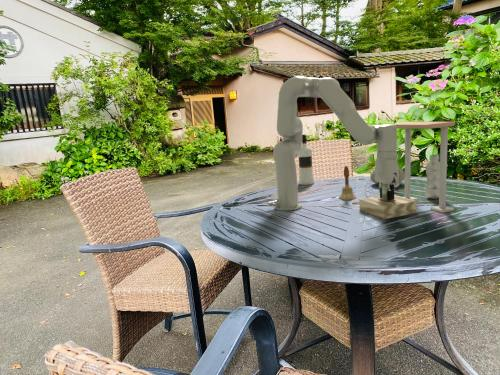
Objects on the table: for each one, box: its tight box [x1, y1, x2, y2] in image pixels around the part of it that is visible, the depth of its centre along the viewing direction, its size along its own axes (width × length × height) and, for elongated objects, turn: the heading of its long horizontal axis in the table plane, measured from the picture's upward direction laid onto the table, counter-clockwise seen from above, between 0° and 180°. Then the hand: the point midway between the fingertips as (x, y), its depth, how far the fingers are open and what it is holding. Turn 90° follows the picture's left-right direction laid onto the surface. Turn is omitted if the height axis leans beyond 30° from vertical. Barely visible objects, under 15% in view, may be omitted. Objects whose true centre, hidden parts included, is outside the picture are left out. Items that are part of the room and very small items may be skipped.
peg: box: [382, 183, 392, 202], centre depth 152 cm, size 4×4×11 cm
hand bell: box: [338, 165, 357, 201], centre depth 180 cm, size 8×8×16 cm
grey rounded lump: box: [369, 167, 405, 186], centre depth 203 cm, size 18×18×10 cm
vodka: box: [297, 134, 315, 186], centre depth 220 cm, size 9×9×30 cm
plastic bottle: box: [424, 154, 440, 200], centre depth 166 cm, size 6×7×20 cm
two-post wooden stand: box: [383, 121, 456, 213], centre depth 154 cm, size 14×26×36 cm, turn 18°
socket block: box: [358, 194, 418, 220], centre depth 153 cm, size 16×16×5 cm
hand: (387, 198), depth 153 cm, fingers closed on peg, 3 cm apart
